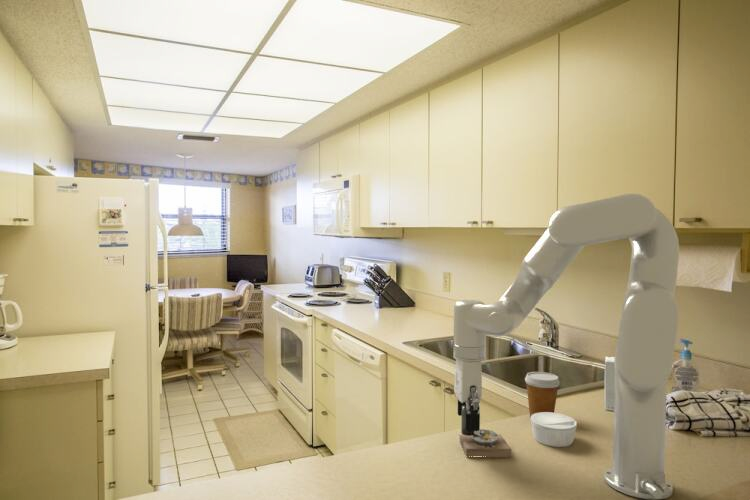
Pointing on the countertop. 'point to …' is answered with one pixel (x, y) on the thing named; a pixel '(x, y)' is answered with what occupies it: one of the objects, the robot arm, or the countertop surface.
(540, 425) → the ramekin
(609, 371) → the skincare box
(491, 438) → the capstan dial
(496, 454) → the level stand
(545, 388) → the disposable coffee cup
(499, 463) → the countertop surface
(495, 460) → the countertop surface
